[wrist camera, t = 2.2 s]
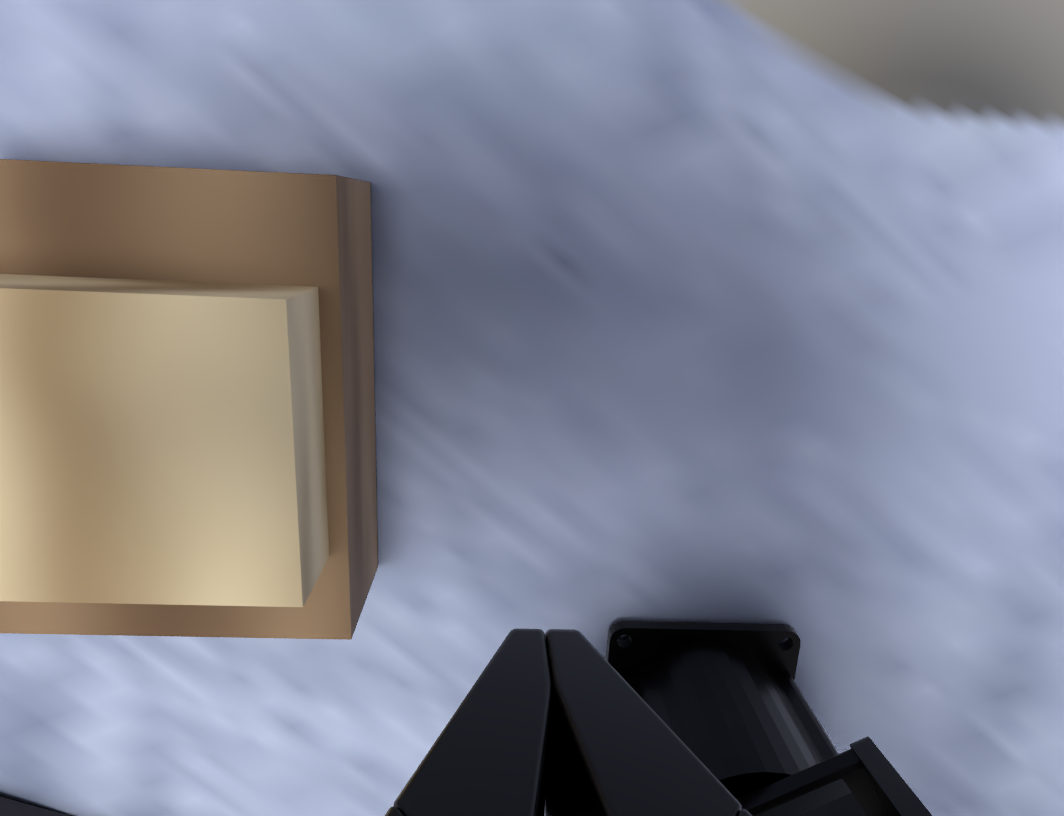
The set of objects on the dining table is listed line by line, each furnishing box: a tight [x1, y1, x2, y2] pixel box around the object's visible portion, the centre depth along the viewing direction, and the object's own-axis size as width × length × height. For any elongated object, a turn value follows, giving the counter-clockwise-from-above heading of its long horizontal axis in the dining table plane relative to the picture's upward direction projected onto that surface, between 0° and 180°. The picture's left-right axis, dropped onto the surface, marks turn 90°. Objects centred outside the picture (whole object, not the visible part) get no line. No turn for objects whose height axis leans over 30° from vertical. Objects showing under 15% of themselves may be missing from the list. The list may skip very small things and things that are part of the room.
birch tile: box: [0, 274, 329, 607], centre depth 16 cm, size 8×7×2 cm
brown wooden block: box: [0, 159, 378, 639], centre depth 19 cm, size 10×12×4 cm
